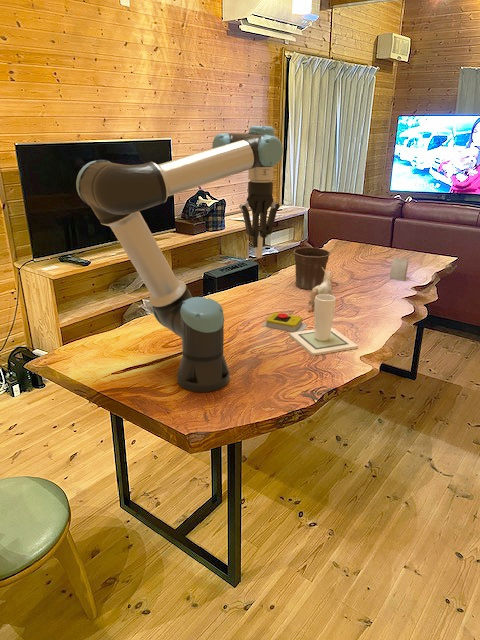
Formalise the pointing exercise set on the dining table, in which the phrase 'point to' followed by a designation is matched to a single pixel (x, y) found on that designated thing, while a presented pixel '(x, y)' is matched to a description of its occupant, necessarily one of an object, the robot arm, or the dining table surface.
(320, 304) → the drinking glass
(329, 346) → the picture board
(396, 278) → the tea bag
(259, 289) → the dining table surface
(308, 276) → the plant pot
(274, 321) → the emergency button
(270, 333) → the dining table surface
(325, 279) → the unicorn figurine
